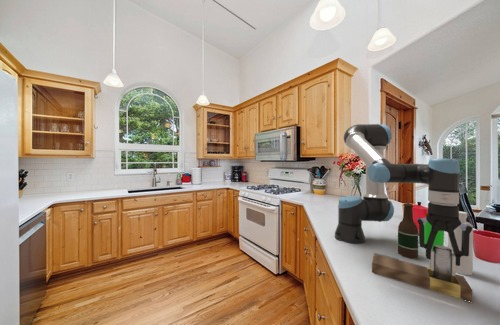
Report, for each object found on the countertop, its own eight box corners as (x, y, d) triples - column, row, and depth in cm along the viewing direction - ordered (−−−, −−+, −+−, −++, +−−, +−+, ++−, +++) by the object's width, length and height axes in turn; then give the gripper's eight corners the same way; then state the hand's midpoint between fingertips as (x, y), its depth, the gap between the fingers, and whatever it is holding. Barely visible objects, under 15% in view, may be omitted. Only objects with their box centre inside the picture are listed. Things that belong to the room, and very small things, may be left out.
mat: (372, 261, 83) (372, 260, 83) (374, 253, 90) (374, 252, 90) (398, 268, 78) (399, 267, 78) (398, 259, 85) (398, 258, 85)
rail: (371, 273, 74) (372, 262, 74) (373, 263, 81) (373, 253, 81) (472, 303, 59) (472, 290, 59) (463, 287, 66) (463, 276, 66)
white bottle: (476, 277, 72) (477, 211, 72) (451, 272, 75) (452, 208, 75) (467, 268, 78) (468, 207, 78) (444, 264, 81) (445, 205, 81)
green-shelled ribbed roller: (450, 253, 91) (451, 215, 91) (430, 251, 93) (431, 214, 93) (436, 245, 100) (436, 211, 100) (418, 243, 102) (418, 210, 102)
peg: (433, 283, 65) (434, 248, 65) (431, 277, 69) (432, 243, 69) (452, 288, 63) (453, 252, 63) (449, 281, 66) (450, 247, 66)
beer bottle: (413, 261, 83) (414, 206, 83) (393, 253, 90) (394, 202, 90) (422, 257, 87) (422, 204, 87) (402, 250, 94) (402, 201, 94)
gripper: (410, 201, 68) (409, 267, 68) (486, 209, 58) (485, 287, 58) (409, 198, 74) (408, 259, 74) (477, 205, 64) (476, 275, 64)
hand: (441, 271), depth 66 cm, fingers closed on peg, 4 cm apart
